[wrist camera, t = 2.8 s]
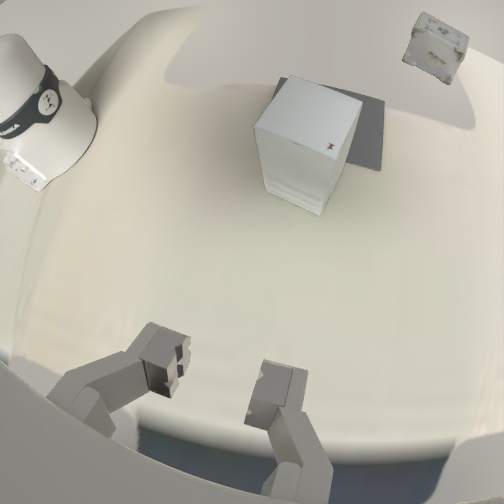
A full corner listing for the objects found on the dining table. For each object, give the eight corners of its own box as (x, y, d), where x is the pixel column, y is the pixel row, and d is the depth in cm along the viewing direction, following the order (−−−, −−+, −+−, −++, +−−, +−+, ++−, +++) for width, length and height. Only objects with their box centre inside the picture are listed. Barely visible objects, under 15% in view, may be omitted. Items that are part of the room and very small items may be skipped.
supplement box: (344, 168, 34) (366, 101, 22) (319, 218, 33) (336, 163, 21) (291, 143, 36) (290, 72, 24) (262, 190, 35) (250, 126, 23)
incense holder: (399, 63, 40) (413, 20, 30) (410, 47, 42) (422, 8, 32) (447, 91, 38) (468, 51, 28) (453, 72, 39) (471, 35, 29)
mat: (257, 142, 37) (257, 140, 36) (280, 79, 40) (280, 77, 40) (379, 171, 34) (380, 169, 34) (383, 102, 37) (384, 101, 37)
